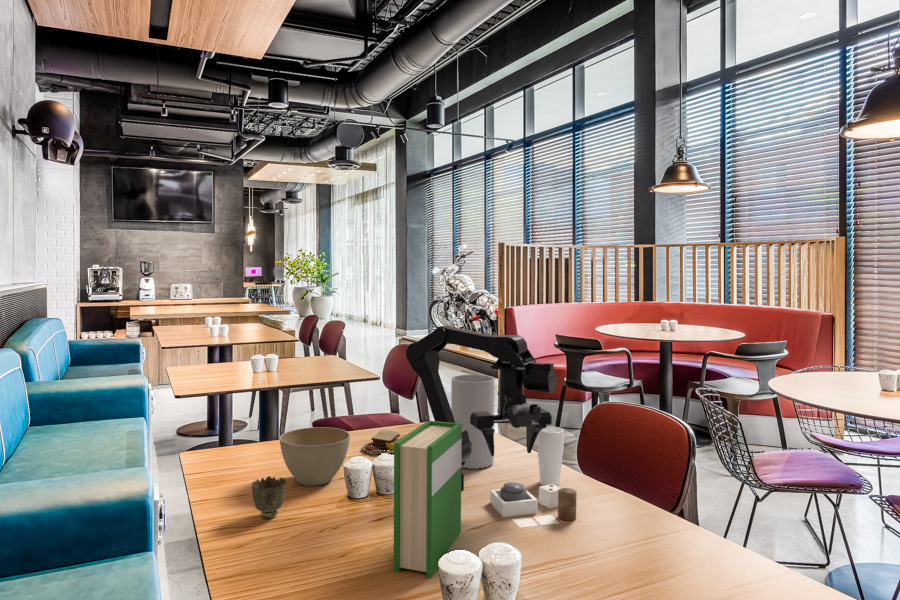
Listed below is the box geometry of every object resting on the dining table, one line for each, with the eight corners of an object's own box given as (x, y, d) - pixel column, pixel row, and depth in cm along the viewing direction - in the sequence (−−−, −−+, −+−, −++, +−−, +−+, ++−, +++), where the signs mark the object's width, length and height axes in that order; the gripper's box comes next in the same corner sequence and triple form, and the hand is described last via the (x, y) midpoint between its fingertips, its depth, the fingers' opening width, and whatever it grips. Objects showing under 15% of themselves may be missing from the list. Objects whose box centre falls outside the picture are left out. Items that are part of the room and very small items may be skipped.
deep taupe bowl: (299, 499, 141) (299, 449, 140) (268, 479, 154) (268, 434, 154) (362, 482, 153) (362, 436, 152) (328, 465, 166) (328, 423, 166)
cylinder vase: (501, 461, 171) (502, 377, 170) (480, 472, 161) (481, 383, 160) (464, 453, 178) (465, 373, 177) (442, 464, 167) (443, 379, 166)
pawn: (562, 522, 126) (563, 495, 126) (554, 515, 130) (555, 488, 130) (579, 520, 127) (579, 493, 127) (570, 513, 131) (571, 487, 131)
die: (549, 509, 134) (550, 491, 134) (538, 503, 137) (539, 486, 137) (563, 505, 136) (563, 488, 136) (551, 500, 139) (552, 483, 139)
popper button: (505, 513, 130) (506, 491, 130) (496, 503, 136) (496, 482, 136) (530, 510, 132) (530, 489, 132) (520, 500, 138) (520, 480, 137)
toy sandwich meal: (353, 452, 180) (353, 437, 179) (380, 441, 191) (380, 427, 191) (386, 459, 173) (386, 443, 173) (411, 447, 185) (411, 433, 185)
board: (513, 535, 121) (514, 517, 121) (488, 506, 137) (488, 490, 137) (590, 526, 126) (591, 508, 126) (558, 499, 142) (558, 483, 142)
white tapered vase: (562, 491, 147) (563, 433, 146) (536, 489, 148) (536, 431, 148) (563, 482, 153) (564, 426, 153) (537, 480, 155) (538, 425, 154)
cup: (292, 512, 133) (292, 478, 132) (273, 525, 126) (272, 489, 125) (265, 508, 135) (265, 474, 135) (244, 520, 128) (244, 485, 128)
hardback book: (431, 578, 104) (432, 446, 103) (393, 571, 106) (394, 442, 105) (460, 537, 121) (461, 423, 120) (427, 532, 123) (428, 420, 122)
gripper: (485, 397, 126) (484, 468, 127) (563, 393, 131) (562, 461, 131) (469, 388, 137) (469, 453, 137) (542, 384, 142) (541, 447, 142)
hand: (510, 454), depth 137 cm, fingers open, 9 cm apart
